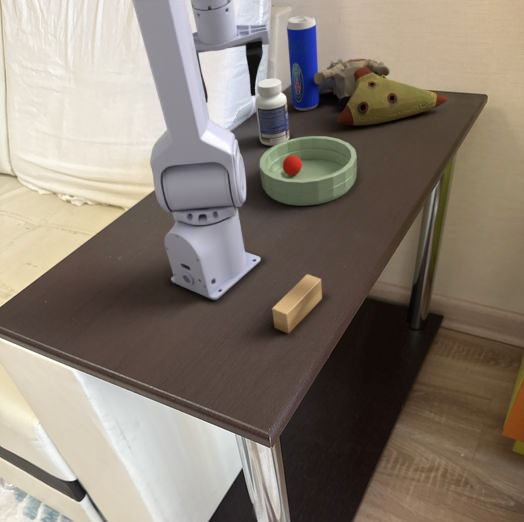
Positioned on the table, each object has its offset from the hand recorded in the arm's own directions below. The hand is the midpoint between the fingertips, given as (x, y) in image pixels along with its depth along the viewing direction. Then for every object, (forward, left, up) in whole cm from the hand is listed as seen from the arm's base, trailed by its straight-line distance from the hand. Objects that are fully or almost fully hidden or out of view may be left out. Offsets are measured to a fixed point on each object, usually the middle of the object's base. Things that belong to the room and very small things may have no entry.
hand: (229, 96), depth 83 cm
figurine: (+23, -9, -5) cm, 25 cm away
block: (-28, -31, -11) cm, 43 cm away
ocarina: (+22, -18, -10) cm, 30 cm away
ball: (-2, -12, -8) cm, 15 cm away
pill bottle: (+8, -1, -11) cm, 14 cm away
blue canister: (+23, +2, -11) cm, 25 cm away
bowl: (-2, -15, -11) cm, 19 cm away
